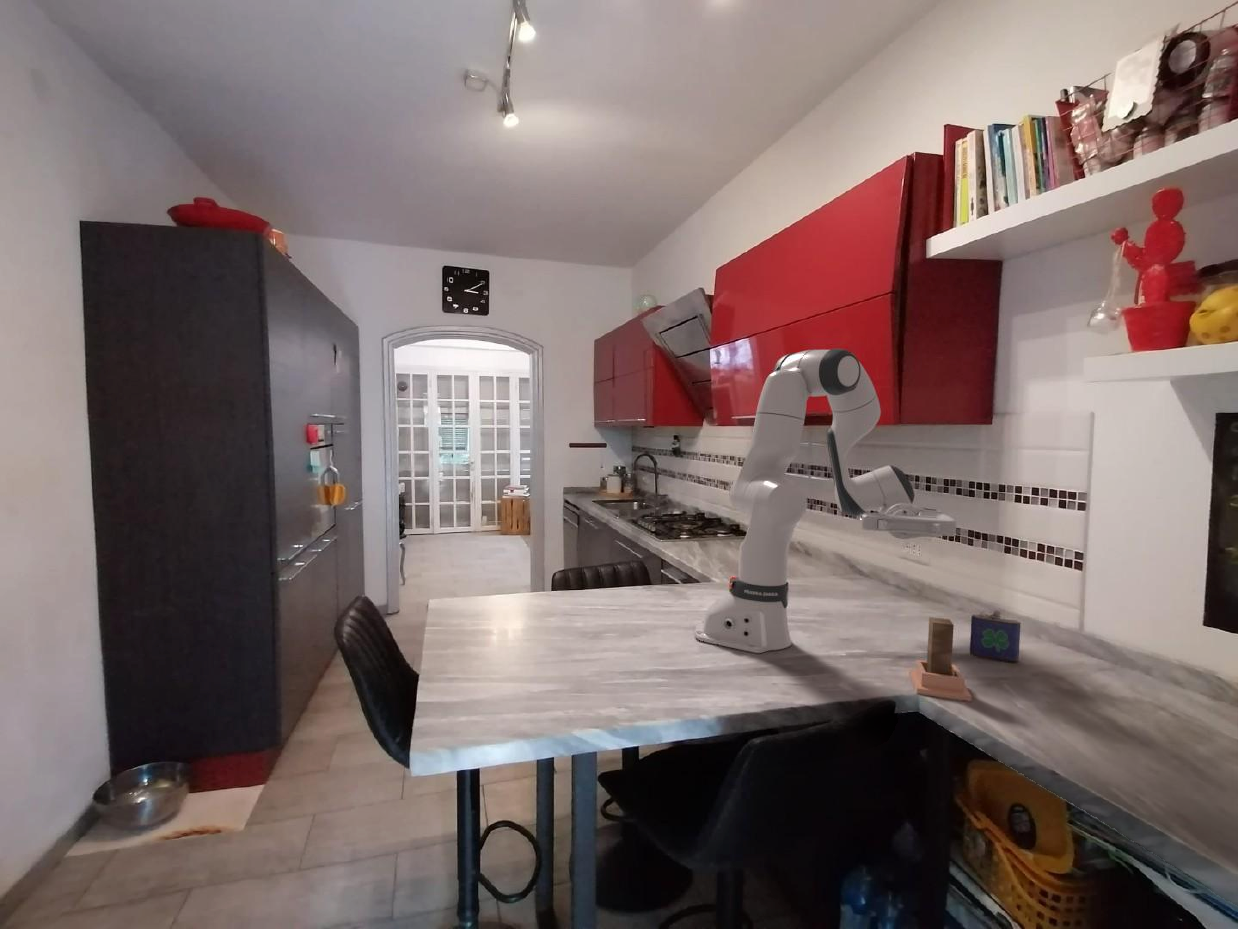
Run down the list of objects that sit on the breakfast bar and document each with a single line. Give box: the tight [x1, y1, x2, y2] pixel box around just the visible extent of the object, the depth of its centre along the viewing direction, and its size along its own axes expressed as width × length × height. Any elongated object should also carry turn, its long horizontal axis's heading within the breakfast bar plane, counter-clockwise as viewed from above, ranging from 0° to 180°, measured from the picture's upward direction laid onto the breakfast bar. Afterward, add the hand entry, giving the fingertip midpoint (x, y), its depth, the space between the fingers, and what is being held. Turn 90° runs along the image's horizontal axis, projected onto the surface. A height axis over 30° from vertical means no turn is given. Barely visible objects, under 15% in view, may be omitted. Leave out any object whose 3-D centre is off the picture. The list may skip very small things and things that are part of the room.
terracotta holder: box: [907, 659, 973, 702], centre depth 110 cm, size 9×10×4 cm
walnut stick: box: [926, 616, 955, 676], centre depth 110 cm, size 4×4×12 cm
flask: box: [969, 610, 1022, 664], centre depth 126 cm, size 9×3×11 cm, turn 63°
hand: (911, 528), depth 129 cm, fingers open, 8 cm apart
